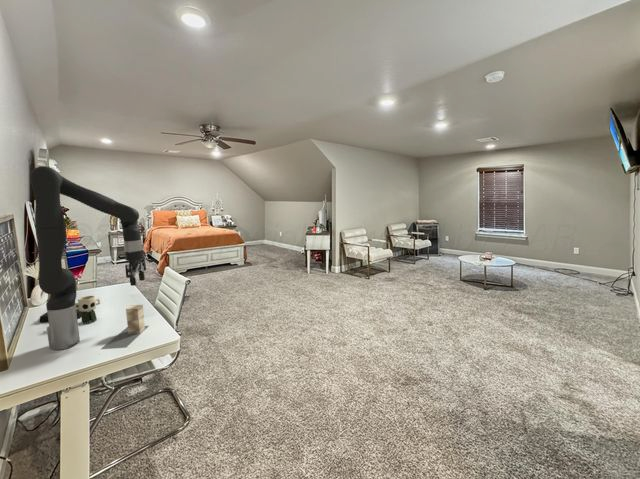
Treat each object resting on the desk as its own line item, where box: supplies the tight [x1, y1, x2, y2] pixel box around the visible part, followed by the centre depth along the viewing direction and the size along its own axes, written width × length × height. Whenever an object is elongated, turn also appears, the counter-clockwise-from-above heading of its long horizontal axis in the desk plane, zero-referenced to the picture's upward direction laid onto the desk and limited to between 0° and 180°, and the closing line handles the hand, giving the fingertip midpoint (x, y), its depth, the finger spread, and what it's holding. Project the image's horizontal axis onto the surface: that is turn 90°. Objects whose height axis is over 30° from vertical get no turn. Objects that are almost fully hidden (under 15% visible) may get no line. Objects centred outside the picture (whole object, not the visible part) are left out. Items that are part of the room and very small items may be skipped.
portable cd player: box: [38, 305, 83, 324], centre depth 162 cm, size 16×17×4 cm
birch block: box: [125, 304, 146, 334], centre depth 139 cm, size 5×5×12 cm
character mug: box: [75, 295, 101, 324], centre depth 152 cm, size 11×7×13 cm, turn 141°
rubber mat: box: [100, 325, 149, 350], centre depth 134 cm, size 10×22×1 cm, turn 7°
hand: (137, 282), depth 143 cm, fingers open, 8 cm apart
